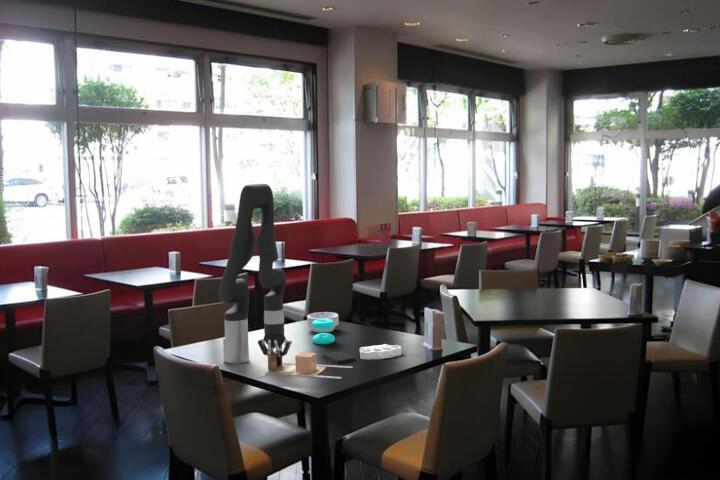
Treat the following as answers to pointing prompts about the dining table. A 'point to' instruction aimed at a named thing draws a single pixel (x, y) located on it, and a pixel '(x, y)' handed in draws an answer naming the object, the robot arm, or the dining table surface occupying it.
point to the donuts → (322, 325)
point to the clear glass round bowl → (323, 316)
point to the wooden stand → (286, 367)
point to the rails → (312, 375)
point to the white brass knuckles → (380, 351)
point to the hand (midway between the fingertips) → (275, 366)
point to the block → (305, 362)
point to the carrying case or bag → (339, 358)
